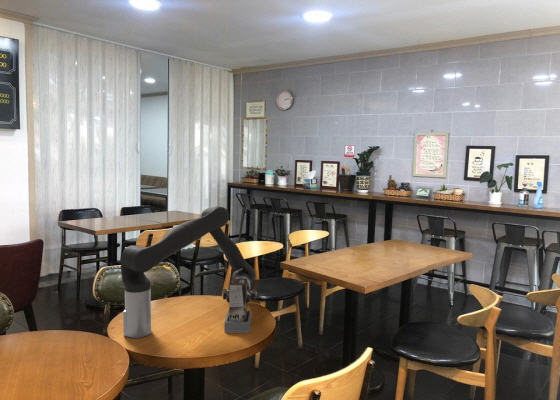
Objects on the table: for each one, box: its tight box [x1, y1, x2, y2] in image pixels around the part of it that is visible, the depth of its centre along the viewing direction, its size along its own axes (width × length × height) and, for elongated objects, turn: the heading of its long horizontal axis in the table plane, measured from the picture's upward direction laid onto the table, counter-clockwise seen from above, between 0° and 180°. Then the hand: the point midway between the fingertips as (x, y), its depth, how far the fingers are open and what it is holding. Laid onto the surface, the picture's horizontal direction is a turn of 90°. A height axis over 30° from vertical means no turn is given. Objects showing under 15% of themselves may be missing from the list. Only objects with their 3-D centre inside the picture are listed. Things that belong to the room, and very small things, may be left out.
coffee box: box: [228, 278, 248, 322], centre depth 173 cm, size 9×6×16 cm
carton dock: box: [223, 309, 252, 334], centre depth 174 cm, size 10×13×4 cm
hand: (238, 300), depth 171 cm, fingers closed on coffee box, 6 cm apart
